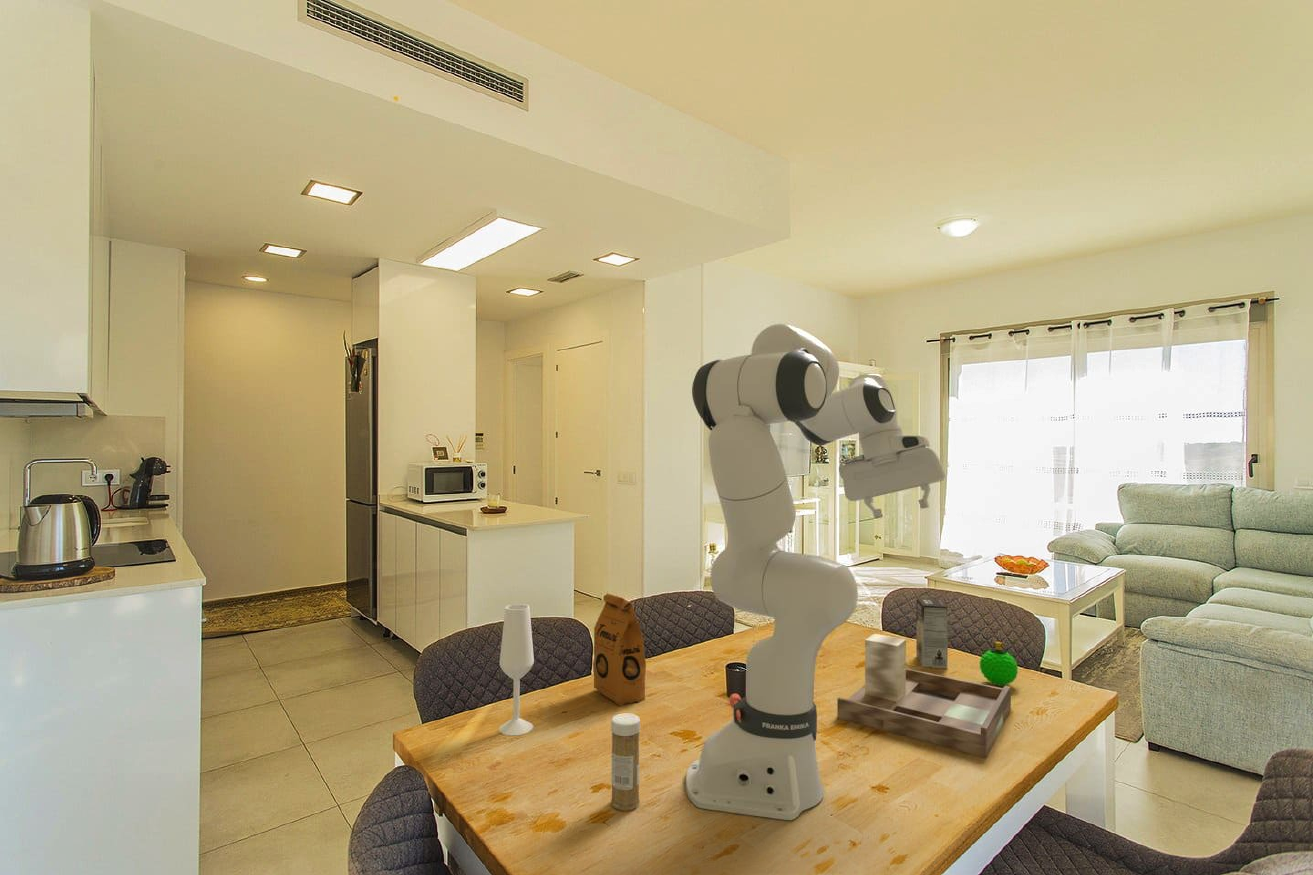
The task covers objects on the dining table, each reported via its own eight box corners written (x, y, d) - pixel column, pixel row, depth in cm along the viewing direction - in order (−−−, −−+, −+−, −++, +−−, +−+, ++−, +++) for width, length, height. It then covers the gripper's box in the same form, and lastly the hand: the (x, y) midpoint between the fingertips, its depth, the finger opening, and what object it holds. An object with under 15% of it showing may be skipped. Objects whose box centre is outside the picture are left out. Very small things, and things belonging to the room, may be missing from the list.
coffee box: (915, 656, 174) (915, 596, 174) (940, 657, 173) (940, 598, 173) (922, 667, 165) (922, 604, 165) (948, 669, 164) (949, 606, 164)
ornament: (985, 675, 159) (986, 635, 160) (1022, 684, 154) (1022, 642, 154) (974, 684, 154) (974, 642, 154) (1012, 693, 148) (1012, 650, 148)
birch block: (865, 694, 141) (865, 639, 142) (874, 686, 146) (874, 633, 146) (897, 702, 137) (897, 645, 137) (905, 693, 142) (905, 639, 142)
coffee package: (611, 709, 137) (612, 606, 137) (588, 689, 148) (589, 594, 148) (652, 700, 142) (653, 601, 142) (626, 682, 153) (627, 589, 153)
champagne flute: (538, 730, 127) (539, 608, 127) (504, 738, 123) (506, 612, 123) (526, 718, 132) (527, 601, 133) (494, 725, 129) (495, 605, 129)
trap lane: (837, 717, 134) (837, 693, 134) (880, 679, 156) (880, 658, 156) (985, 757, 117) (985, 730, 117) (1010, 708, 139) (1010, 685, 139)
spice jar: (645, 801, 102) (645, 716, 102) (628, 815, 98) (629, 726, 98) (621, 792, 104) (622, 709, 104) (604, 806, 100) (605, 719, 100)
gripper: (832, 460, 139) (848, 523, 135) (931, 434, 129) (950, 501, 126) (840, 463, 144) (856, 523, 141) (935, 438, 134) (954, 502, 131)
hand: (901, 513), depth 133 cm, fingers open, 8 cm apart
